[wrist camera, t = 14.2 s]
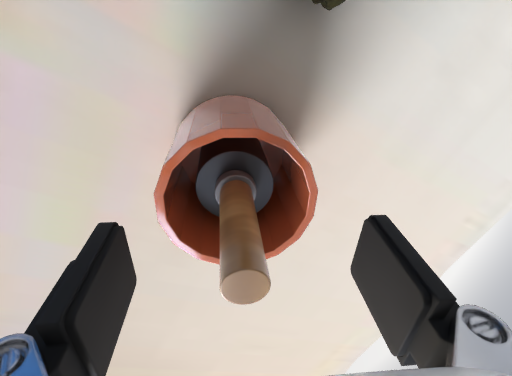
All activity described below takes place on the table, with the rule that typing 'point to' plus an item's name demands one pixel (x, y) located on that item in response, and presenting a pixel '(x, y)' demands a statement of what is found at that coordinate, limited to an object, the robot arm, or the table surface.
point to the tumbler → (280, 162)
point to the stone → (328, 3)
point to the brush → (237, 212)
